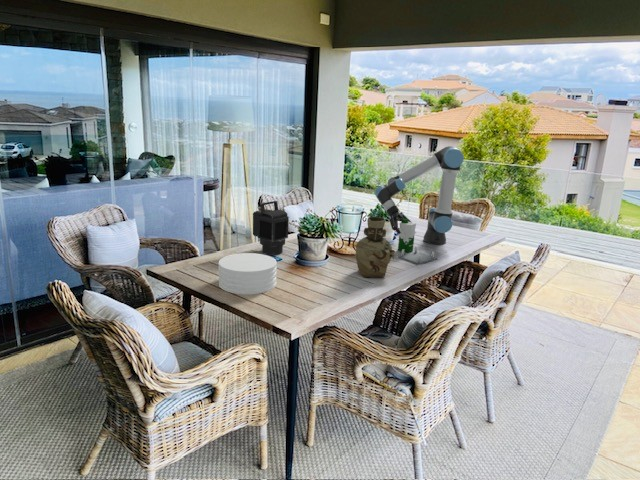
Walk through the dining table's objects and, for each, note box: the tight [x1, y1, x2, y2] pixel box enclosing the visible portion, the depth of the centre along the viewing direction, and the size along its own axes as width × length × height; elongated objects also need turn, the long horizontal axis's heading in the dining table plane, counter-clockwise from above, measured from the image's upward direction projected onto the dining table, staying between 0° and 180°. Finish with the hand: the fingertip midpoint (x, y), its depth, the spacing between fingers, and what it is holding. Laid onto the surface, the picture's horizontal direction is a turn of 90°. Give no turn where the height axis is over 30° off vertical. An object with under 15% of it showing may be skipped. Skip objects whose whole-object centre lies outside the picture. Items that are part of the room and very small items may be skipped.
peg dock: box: [396, 245, 438, 266], centre depth 288 cm, size 18×16×5 cm
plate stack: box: [218, 252, 278, 295], centre depth 235 cm, size 28×28×12 cm
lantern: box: [252, 200, 290, 256], centre depth 285 cm, size 15×18×30 cm
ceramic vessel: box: [355, 216, 396, 279], centre depth 256 cm, size 19×21×30 cm
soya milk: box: [397, 218, 417, 254], centre depth 301 cm, size 9×9×20 cm
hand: (408, 235), depth 300 cm, fingers open, 13 cm apart
